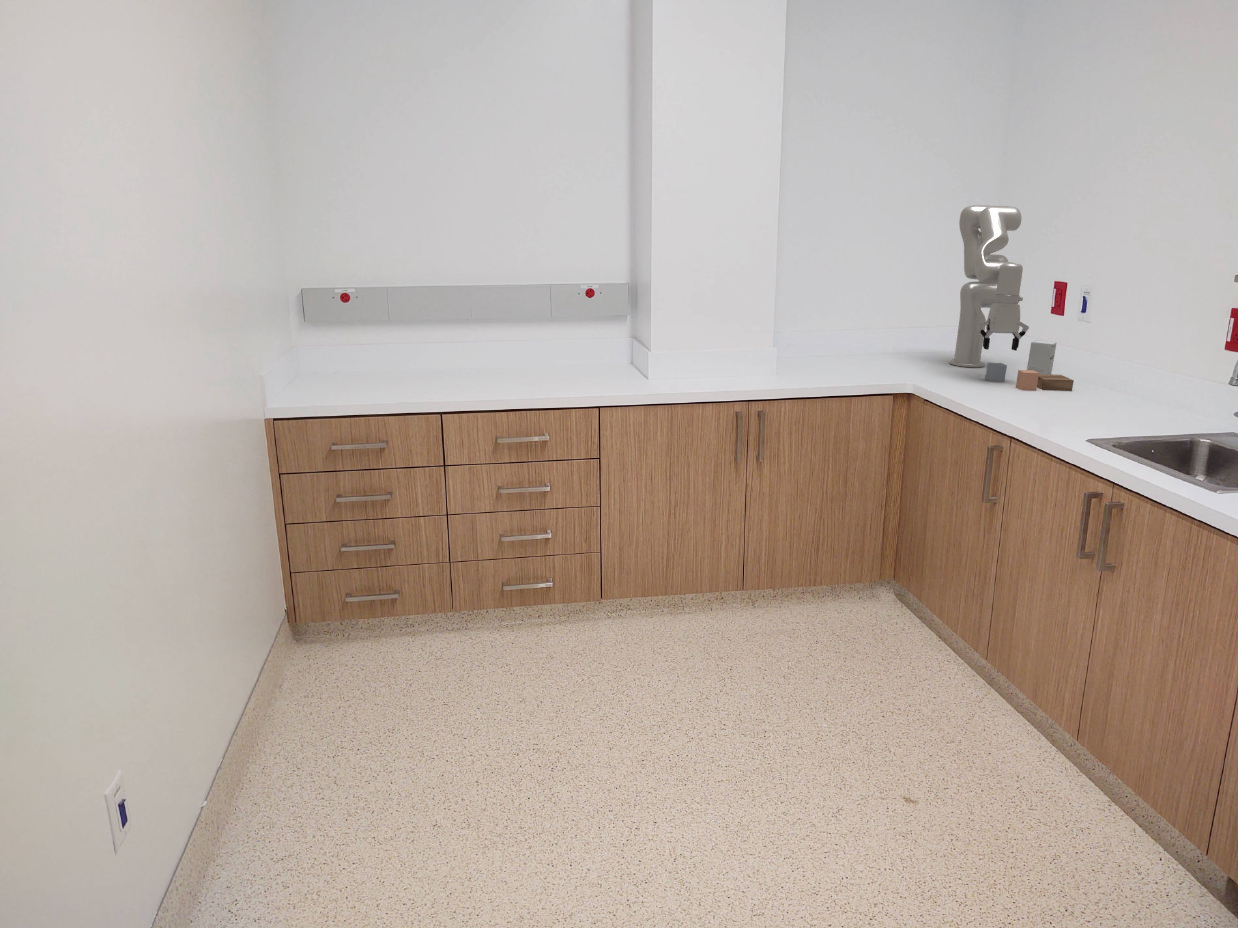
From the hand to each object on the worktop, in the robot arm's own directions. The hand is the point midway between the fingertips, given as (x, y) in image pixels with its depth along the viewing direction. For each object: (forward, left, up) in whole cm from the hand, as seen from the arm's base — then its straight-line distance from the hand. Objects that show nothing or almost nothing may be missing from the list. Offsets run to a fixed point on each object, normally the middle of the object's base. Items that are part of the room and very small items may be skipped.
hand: (1000, 349), depth 321 cm
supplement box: (-13, +20, -11) cm, 26 cm away
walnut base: (+8, +16, -12) cm, 21 cm away
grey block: (-1, 0, -11) cm, 11 cm away
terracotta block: (+12, +6, -11) cm, 18 cm away
